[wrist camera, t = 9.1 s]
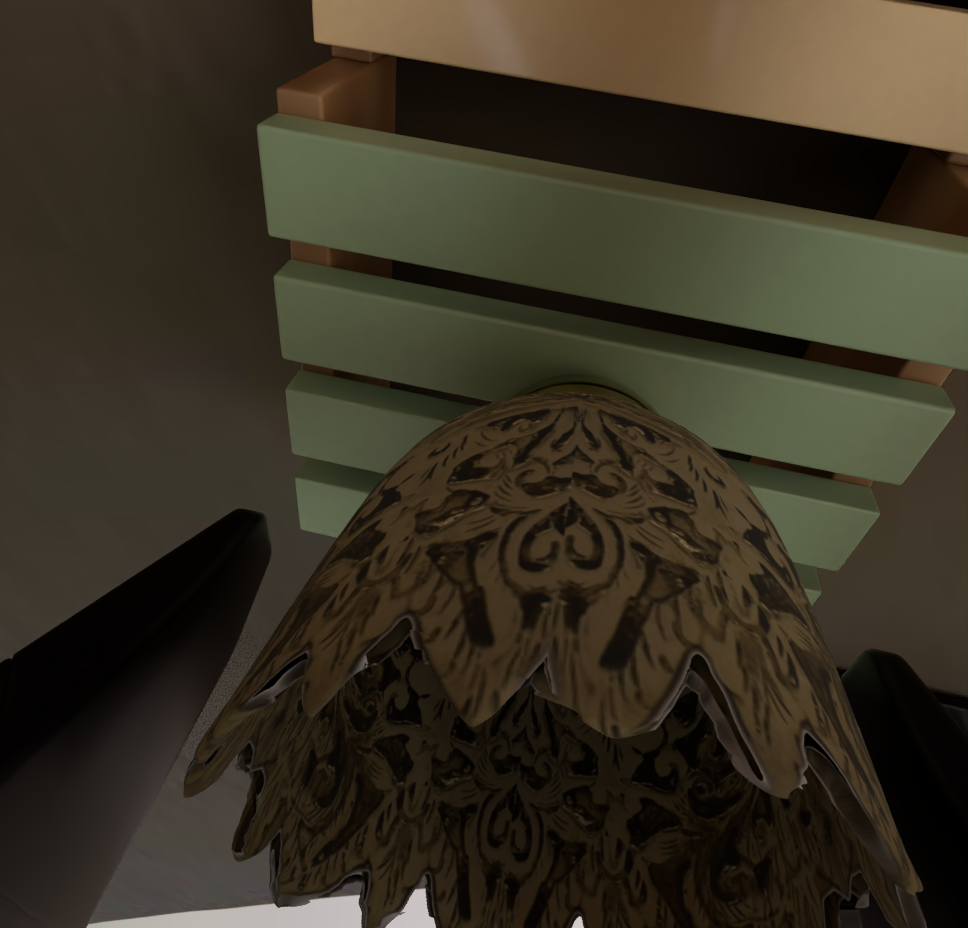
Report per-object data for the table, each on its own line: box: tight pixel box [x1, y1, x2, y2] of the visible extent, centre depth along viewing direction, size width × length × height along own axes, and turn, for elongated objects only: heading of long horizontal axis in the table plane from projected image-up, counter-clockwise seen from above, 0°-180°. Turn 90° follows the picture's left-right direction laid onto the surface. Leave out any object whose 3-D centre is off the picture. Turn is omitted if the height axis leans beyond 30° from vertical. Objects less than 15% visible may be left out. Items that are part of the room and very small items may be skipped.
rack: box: [257, 0, 968, 606], centre depth 11 cm, size 12×20×5 cm, turn 174°
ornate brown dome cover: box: [184, 375, 927, 928], centre depth 10 cm, size 8×7×8 cm
